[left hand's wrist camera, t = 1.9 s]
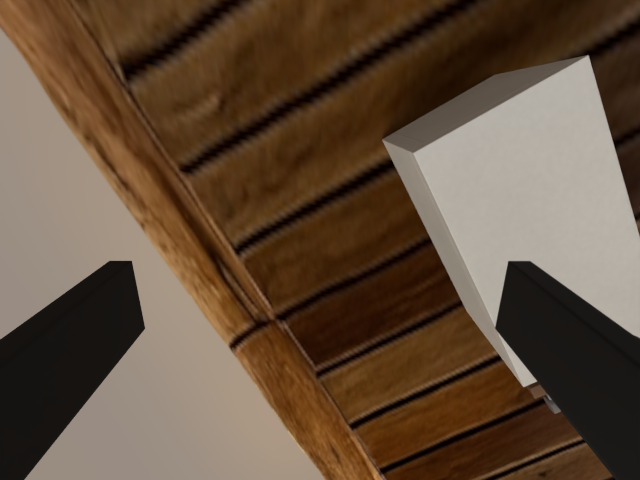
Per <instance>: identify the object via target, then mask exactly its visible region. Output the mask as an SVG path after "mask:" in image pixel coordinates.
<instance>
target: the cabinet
mask: <svg viewBox="0 0 640 480" xmlns="http://www.w3.org/2000/svg"><path fill="white" fill-rule="evenodd" d="M382 141H383V143H384V145H385V147H386V149H387V151H388V153H389V155H390V157H391V159H392V161H393V163H394V165H395V167H396V169H397V171H398V173H399V175H400V177H401V179H402V181H403V183H404V185H405V187H406V189H407V191H408V193H409V195H410V197H411V199H412V201H413V203H414V205H415V208H416V210H417V212H418V214H419V216H420V218H421V220H422V222H423V224H424V226H425V228H426V230H427V232H428V234H429V236H430V238H431V240H432V242H433V244H434V246H435V248H436V250H437V252H438V254H439V256H440V258H441V260H442V262H443V264H444V266H445V268H446V270H447V272H448V274H449V276H450V278H451V280H452V282H453V284H454V286H455V288H456V290H457V292H458V294H459V296H460V298H461V301H462V303H463V305H464V307H465V309H466V311H467V312H468V314H469V315H470V316H471V318H472V319H473V320H474V322H475V323H476V324H477V326H478V327H479V328H480V330H481V331H482V332H483V334H484V335H485V336H486V338H487V339H488V340H489V342H490V343H491V344H492V346H493V347H494V348H495V350H496V351H497V352H498V354H499V355H500V356H501V358H502V359H503V360H504V362H505V363H506V364H507V366H508V367H509V368H510V370H511V371H512V372H513V374H514V375H515V376H516V378H517V379H518V380H519V382H520V383H521V384H522V386H523V387H525V386H528V385H530V384H532V383H535V382H537V380H536V379H535V378H534V377H533V375H532V374H531V373H530V372H529V370H528V369H527V368H526V367H525V365H524V364H523V363H522V362H521V360H520V359H519V358H518V357H517V355H516V354H515V353H514V352H513V350H512V349H511V348H510V347H509V345H508V344H507V343H506V342H505V340H504V339H503V338H502V337H501V335H500V334H499V333H498V332H497V330H496V329H495V326H496V321H497V316H498V311H499V306H500V301H501V296H502V290H503V285H504V280H505V275H506V270H507V265H508V261H531V262H532V263H534V264H535V265H537V266H538V267H539V268H541V269H542V270H544V271H545V272H546V273H548V274H549V275H550V276H552V277H553V278H555V279H556V280H557V281H559V282H560V283H562V284H563V285H564V286H566V287H567V288H569V289H570V290H571V291H573V292H574V293H575V294H577V295H578V296H580V297H581V298H582V299H584V300H585V301H587V302H588V303H589V304H591V305H592V306H594V307H595V308H596V309H598V310H599V311H601V312H602V313H603V314H605V315H606V316H607V317H609V318H610V319H612V320H613V321H614V322H616V323H617V324H619V325H620V326H621V327H623V328H624V329H626V330H627V331H628V332H630V333H631V334H632V335H635V336H637V337H639V338H640V236H639V233H638V229H637V226H636V222H635V218H634V215H633V211H632V208H631V204H630V201H629V197H628V194H627V190H626V186H625V183H624V179H623V176H622V172H621V169H620V165H619V162H618V158H617V155H616V151H615V147H614V144H613V140H612V137H611V133H610V130H609V126H608V123H607V119H606V115H605V112H604V108H603V105H602V101H601V98H600V94H599V91H598V87H597V84H596V80H595V76H594V73H593V69H592V66H591V62H590V59H589V56H588V55H586V56H582V57H577V58H572V59H567V60H563V61H558V62H553V63H548V64H544V65H539V66H534V67H529V68H524V69H520V70H515V71H510V72H505V73H501V74H496V75H493V76H492V77H490V78H488V79H486V80H485V81H483V82H481V83H479V84H478V85H476V86H474V87H472V88H471V89H469V90H467V91H466V92H464V93H462V94H460V95H459V96H457V97H455V98H453V99H452V100H450V101H448V102H446V103H445V104H443V105H441V106H439V107H438V108H436V109H434V110H432V111H431V112H429V113H427V114H425V115H424V116H422V117H420V118H419V119H417V120H415V121H413V122H412V123H410V124H408V125H406V126H405V127H403V128H401V129H399V130H398V131H396V132H394V133H392V134H391V135H389V136H387V137H385V138H384V139H382Z"/></svg>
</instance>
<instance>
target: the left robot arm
mask: <svg viewBox="0 0 640 480" xmlns="http://www.w3.org/2000/svg"><path fill="white" fill-rule="evenodd" d="M144 329H145V326H144V321H143V316H142V311H141V306H140V301H139V296H138V290H137V286H136V280H135V276H134V270H133V265H132V261H109V262H108V263H106V264H105V265H103V266H102V267H101V268H99V269H98V270H96V271H95V272H94V273H92V274H91V275H90V276H88V277H87V278H85V279H84V280H83V281H81V282H80V283H78V284H77V285H76V286H74V287H73V288H72V289H70V290H69V291H67V292H66V293H65V294H63V295H62V296H60V297H59V298H58V299H56V300H55V301H53V302H52V303H51V304H49V305H48V306H47V307H45V308H44V309H42V310H41V311H40V312H38V313H37V314H35V315H34V316H33V317H31V318H30V319H28V320H27V321H26V322H24V323H23V324H21V325H20V326H19V327H17V328H16V329H15V330H13V331H12V332H10V333H9V334H8V335H6V336H5V337H3V338H2V339H0V480H24V479H25V478H26V477H27V475H28V474H29V473H30V472H31V470H32V469H33V468H34V467H35V465H36V464H37V463H38V462H39V460H40V459H41V458H42V457H43V455H44V454H45V453H46V452H47V450H48V449H49V448H50V447H51V445H52V444H53V443H54V442H55V440H56V439H57V438H58V437H59V435H60V434H61V433H62V432H63V430H64V429H65V428H66V427H67V425H68V424H69V423H70V422H71V420H72V419H73V418H74V417H75V415H76V414H77V413H78V412H79V410H80V409H81V408H82V407H83V405H84V404H85V403H86V402H87V400H88V399H89V398H90V397H91V395H92V394H93V393H94V392H95V390H96V389H97V388H98V387H99V385H100V384H101V383H102V382H103V380H104V379H105V378H106V377H107V375H108V374H109V373H110V372H111V370H112V369H113V368H114V367H115V365H116V364H117V363H118V362H119V360H120V359H121V358H122V357H123V355H124V354H125V353H126V352H127V350H128V349H129V348H130V347H131V345H132V344H133V343H134V342H135V340H136V339H137V338H138V337H139V335H140V334H141V333H142V332H143V330H144ZM495 329H496V330H497V332H498V333H499V334H500V335H501V337H502V338H503V339H504V340H505V342H506V343H507V344H508V345H509V347H510V348H511V349H512V350H513V352H514V353H515V354H516V355H517V357H518V358H519V359H520V360H521V362H522V363H523V364H524V365H525V367H526V368H527V369H528V370H529V372H530V373H531V374H532V375H533V377H534V378H535V379H536V380H537V382H538V383H539V384H540V385H541V387H542V388H543V389H544V390H545V392H546V393H547V394H548V395H549V397H550V398H551V399H552V400H553V402H554V403H555V404H556V405H557V407H558V408H559V409H560V410H561V412H562V413H563V414H564V415H565V417H566V418H567V419H568V420H569V422H570V423H571V424H572V425H573V427H574V428H575V429H576V430H577V432H578V433H579V434H580V435H581V437H582V438H583V439H584V440H585V442H586V443H587V444H588V445H589V447H590V448H591V449H592V450H593V452H594V453H595V454H596V455H597V457H598V458H599V459H600V460H601V462H602V463H603V464H604V465H605V467H606V468H607V469H608V470H609V472H610V473H611V474H612V475H613V477H614V478H615V479H616V480H640V338H639V337H637V336H635V335H632V334H631V333H630V332H628V331H627V330H626V329H624V328H623V327H621V326H620V325H619V324H617V323H616V322H614V321H613V320H612V319H610V318H609V317H607V316H606V315H605V314H603V313H602V312H601V311H599V310H598V309H596V308H595V307H594V306H592V305H591V304H589V303H588V302H587V301H585V300H584V299H582V298H581V297H580V296H578V295H577V294H575V293H574V292H573V291H571V290H570V289H569V288H567V287H566V286H564V285H563V284H562V283H560V282H559V281H557V280H556V279H555V278H553V277H552V276H550V275H549V274H548V273H546V272H545V271H544V270H542V269H541V268H539V267H538V266H537V265H535V264H534V263H532V262H531V261H508V265H507V270H506V275H505V280H504V285H503V290H502V296H501V301H500V306H499V311H498V316H497V321H496V326H495Z"/></svg>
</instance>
